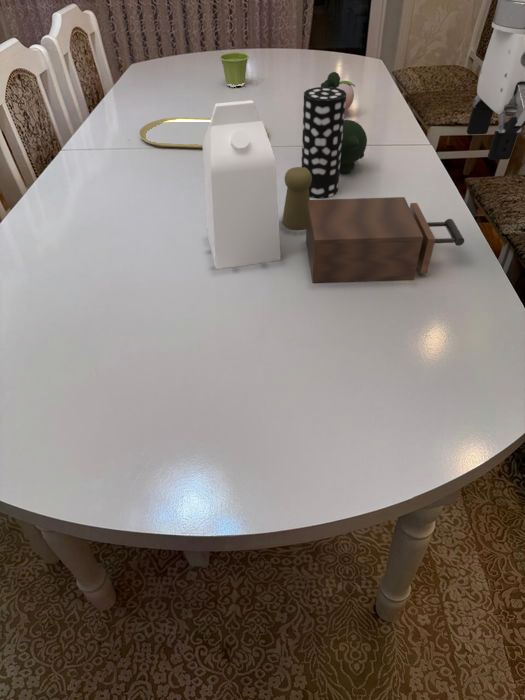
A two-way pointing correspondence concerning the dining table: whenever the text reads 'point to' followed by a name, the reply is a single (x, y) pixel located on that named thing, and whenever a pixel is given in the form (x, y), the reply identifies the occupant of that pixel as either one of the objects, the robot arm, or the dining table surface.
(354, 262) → the cabinet
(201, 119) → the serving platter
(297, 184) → the olive pawn
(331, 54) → the dining table surface
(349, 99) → the decorative fruit
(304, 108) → the spotted tube
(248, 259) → the milk
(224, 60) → the plant pot
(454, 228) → the drawer
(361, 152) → the toy figurine
